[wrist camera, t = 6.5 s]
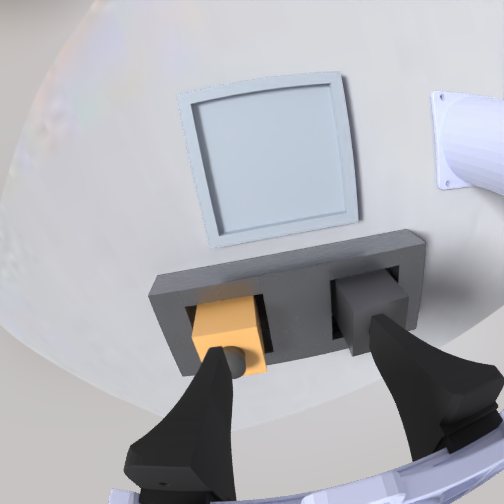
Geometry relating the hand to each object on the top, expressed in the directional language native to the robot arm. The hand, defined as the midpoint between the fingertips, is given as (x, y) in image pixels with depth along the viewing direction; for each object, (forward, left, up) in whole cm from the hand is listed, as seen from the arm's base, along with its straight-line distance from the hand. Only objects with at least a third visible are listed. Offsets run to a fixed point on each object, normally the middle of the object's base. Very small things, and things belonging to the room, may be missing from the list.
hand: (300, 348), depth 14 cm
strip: (-1, +3, -10) cm, 10 cm away
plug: (+4, +3, -10) cm, 11 cm away
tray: (-1, -8, -10) cm, 12 cm away
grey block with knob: (-6, +3, -10) cm, 12 cm away
